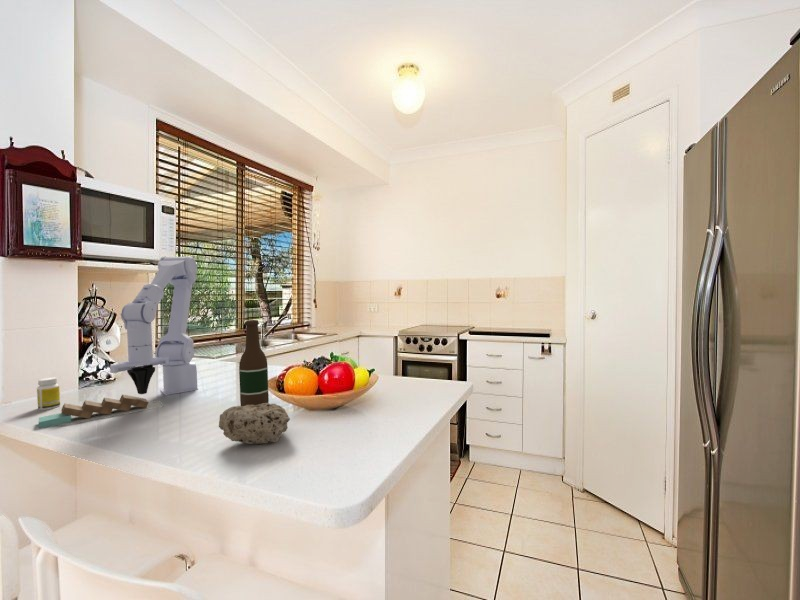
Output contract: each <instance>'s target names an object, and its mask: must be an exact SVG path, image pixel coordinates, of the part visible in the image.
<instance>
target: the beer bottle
mask: <svg viewBox="0 0 800 600" xmlns="http://www.w3.org/2000/svg"><path fill="white" fill-rule="evenodd" d="M244 324H245V325H244V326H245V327H246V328H245V329H246V330H245V349H244V351H243V353H242V354H241V358H240V359H239V365H238V368H239V369H238V371H239V372H238V374H239V375H238V376H239V398H240V399H239V401H240V406H246V405H258V404H262V403H269V402H270V401H269V399H270V398H269V375H268V372H269V371H268V358H267V357H266V354H265V352H264V351H263V349H262V348H261V343H260V334H259V325H260V322H259V320H258V319H249V320H245V323H244ZM269 404H270V403H269Z"/></svg>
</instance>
